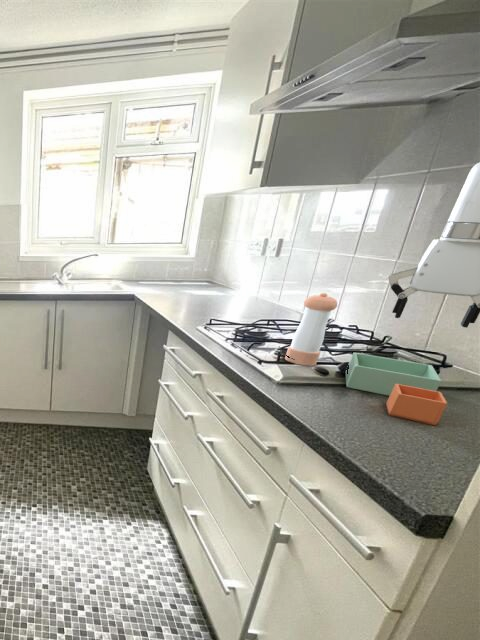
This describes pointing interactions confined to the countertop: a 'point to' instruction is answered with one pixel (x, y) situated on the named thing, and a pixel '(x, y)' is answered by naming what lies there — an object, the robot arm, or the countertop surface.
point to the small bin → (416, 404)
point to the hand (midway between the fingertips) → (429, 321)
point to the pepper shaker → (311, 330)
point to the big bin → (388, 374)
